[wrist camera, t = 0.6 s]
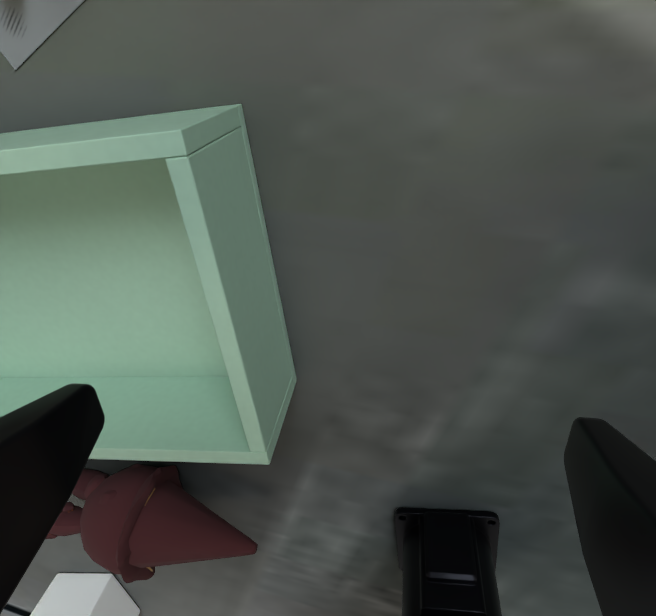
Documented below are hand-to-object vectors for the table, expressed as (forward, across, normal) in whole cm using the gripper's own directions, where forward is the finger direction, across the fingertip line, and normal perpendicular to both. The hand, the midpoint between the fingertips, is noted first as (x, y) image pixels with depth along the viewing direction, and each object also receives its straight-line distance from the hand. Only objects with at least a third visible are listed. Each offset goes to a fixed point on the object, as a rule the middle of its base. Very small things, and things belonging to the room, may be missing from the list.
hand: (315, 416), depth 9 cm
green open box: (+14, +16, +4) cm, 21 cm away
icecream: (+14, +14, +20) cm, 28 cm away
